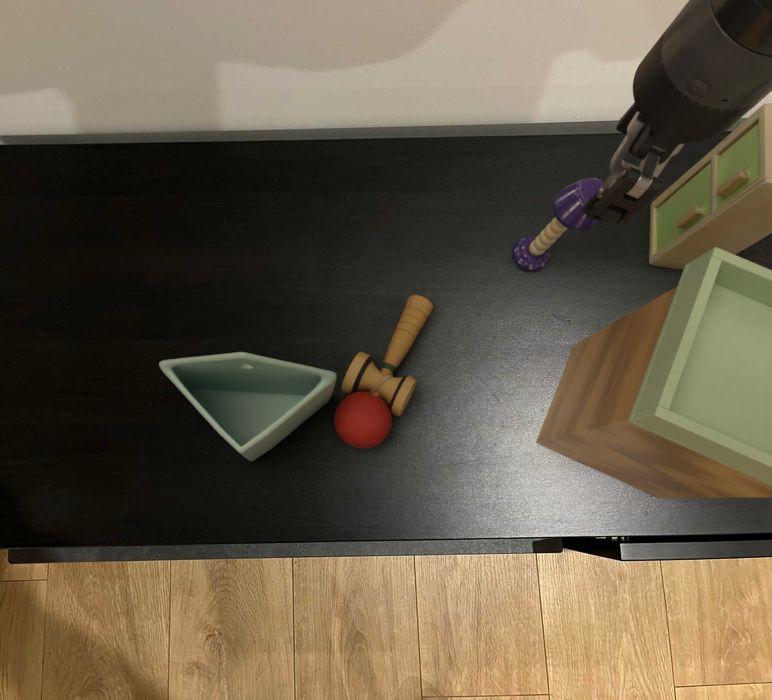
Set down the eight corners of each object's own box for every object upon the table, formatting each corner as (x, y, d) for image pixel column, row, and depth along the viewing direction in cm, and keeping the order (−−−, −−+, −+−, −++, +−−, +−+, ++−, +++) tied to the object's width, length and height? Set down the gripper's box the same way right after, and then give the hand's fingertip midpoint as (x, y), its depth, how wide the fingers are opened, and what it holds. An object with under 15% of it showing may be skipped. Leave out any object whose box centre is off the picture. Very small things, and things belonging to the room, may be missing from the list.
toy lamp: (531, 227, 81) (589, 158, 64) (561, 254, 80) (628, 191, 64) (503, 254, 80) (555, 191, 63) (534, 282, 79) (594, 226, 63)
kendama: (379, 293, 80) (310, 430, 74) (398, 274, 74) (325, 421, 68) (436, 326, 81) (372, 464, 75) (460, 310, 75) (393, 458, 69)
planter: (175, 456, 75) (131, 440, 55) (183, 383, 76) (143, 344, 57) (327, 466, 75) (335, 454, 55) (331, 393, 76) (341, 357, 57)
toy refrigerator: (643, 200, 81) (758, 99, 61) (705, 208, 81) (842, 110, 61) (640, 264, 80) (757, 183, 59) (704, 273, 79) (844, 194, 59)
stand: (693, 397, 76) (866, 351, 53) (658, 498, 74) (822, 497, 51) (574, 344, 78) (691, 277, 54) (535, 442, 75) (641, 416, 52)
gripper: (746, 171, 42) (624, 260, 58) (812, -14, 45) (678, 120, 61) (629, 123, 43) (540, 225, 59) (702, -56, 45) (598, 87, 61)
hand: (611, 171), depth 60 cm, fingers open, 8 cm apart
